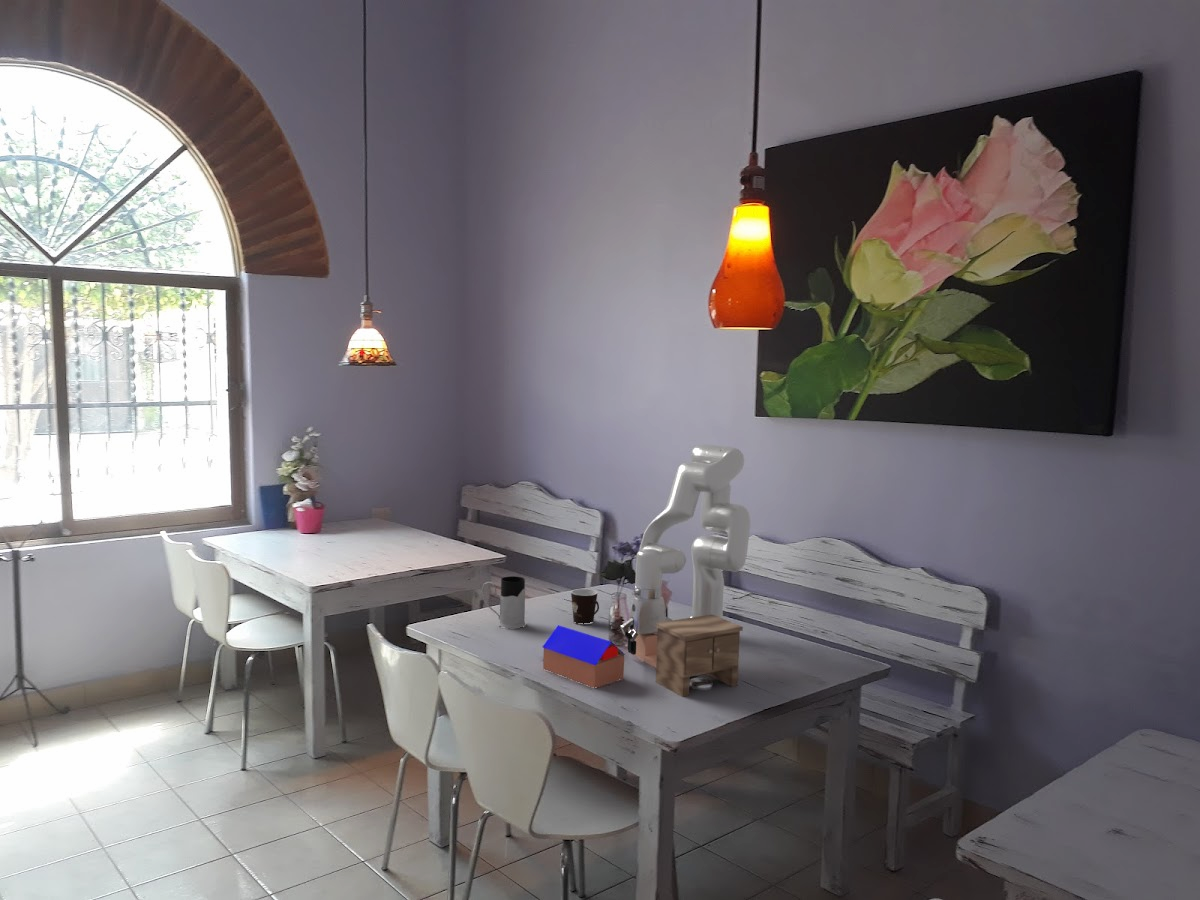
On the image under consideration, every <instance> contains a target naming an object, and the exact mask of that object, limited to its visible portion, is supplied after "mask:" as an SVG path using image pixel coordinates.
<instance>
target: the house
mask: <svg viewBox="0 0 1200 900" xmlns="http://www.w3.org/2000/svg"><path fill="white" fill-rule="evenodd" d="M542 648H543V660H542V661H543V664H542V667H543V669H545V670H548V671H551V672H553V673H556V674H559V675H562V676H564V677H567V678H569V679H572V680H574V681H577V682H580V683H582V684H585V685H588V686H590V687H589V688H591V687H594V688H595V687H599V686H601V687H603V686H602V685H604V686H606V685H605V684H607V685H609V684H608V683H610V684H612V683H611V682H613V683H615V682H614V681H616V682H618V681H620V680H619V679H621V680H623V679H624V675H625V674H624V673H625V672H624V671H625V670H624V669H625V656H626V653H624V652H623V651H622V650H621V649H620V648H619V647H618V646H617V645H616V644H615V643H614V642H612V641H610V640H609V639H604V638H601V637H598V636H594V635H591V634H588V633H584V632H581V631H578V630H575V629H572V628H568V627H565V626H563V625H557V626H556V628H555V629H554V630H553V631H552V633H551V634H550V635H549V636H548V638H547V640H546V641H545V643H544V644H542ZM569 679H568V680H569ZM617 680H618V681H617ZM574 681H573V682H574ZM577 682H576V683H577ZM580 683H579V684H580ZM582 684H581V685H582ZM585 685H584V686H585ZM588 686H587V687H588ZM599 688H600V687H599Z"/></svg>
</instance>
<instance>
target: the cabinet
mask: <svg viewBox="0 0 1200 900" xmlns="http://www.w3.org/2000/svg"><path fill="white" fill-rule="evenodd" d="M655 627H657V628H658V632H657V633H656V635H657V662H656V668H655V682H656V684H659V685H660V686H663V687H664V688H666V689H668V690H670V691H672V692H673V693H675V694H677V695H679V696H681V697H682V698H683V697H688V696H690V680H691V677H690V676H693V677H694V676H699V675H700V676H701V675H708V676H709V677H711V678H713V679H715V680H717V681H719V682H721V683H723V682H724V683H723V684H725V683H726V684H725V685H727V684H728V685H727V686H729V685H730V686H729V687H731V686H732V687H735V686H734V685H737V686H738V682H739V679H738V678H739V677H738V675H739V657H740V656H739V655H740V654H739V653H740V639H741V638H740V637H741V634H740V632H741V631H744V630H743V628H744V627H743V625H742V626H741V625H739V624H736V623H734V622H732V621H729V620H727V619H724V618H723V617H722V618H719V617H717V616H714V615H705V616H699V617H692V618H690V617H686V618H680V619H674V620H673V619H672V621H665V622H659V623H655Z"/></svg>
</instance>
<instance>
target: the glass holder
mask: <svg viewBox="0 0 1200 900" xmlns="http://www.w3.org/2000/svg"><path fill="white" fill-rule="evenodd" d="M525 581H526V579H525V578H524V577H523V576H513V575H512V576H505V577H502V578H501V580H500V594H498V593H497V587H496V585H495V584H494V582H491V581H487V582H485V583H483V585H482V588H481V593H482V599H483V601H484V603H485V606H487V607H488V609H490V610H491V611H492V612H493V613H494V614H496V616H498V620H499V622H498V624H499V626H501V627H505V628H520V627H523V626H525V624H526V621H525V613H526V611H525V610H526V604H525V603H526V586H525V585H526V582H525ZM486 584H491V585H492V586H493V588H494V594H495V595H496V596H497V597H499V599H500V600H499V601H500V602H499V613H498V612H497V611H496V610H495V609H494V608H492V607H491V606H490V605H489V604H488V601H487V599H486V597H485V595H484V586H485V585H486ZM499 626H498V627H499ZM501 627H500V628H501ZM525 627H526V626H525ZM523 628H524V627H523ZM520 629H521V628H520Z"/></svg>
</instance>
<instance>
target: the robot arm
mask: <svg viewBox="0 0 1200 900" xmlns="http://www.w3.org/2000/svg"><path fill="white" fill-rule="evenodd" d="M690 459H691V461H686V462H684V463H681V464H680V465H679V466H678V467H677V469H676V473H675V476H674V478H673V482H672V485H671V489H670V492H669V496H668V499H667V502H666V505H665V508H664V509H663V511H661V512H660V513H659V514H658V515H656V517H654V518H653V520H651V522H650V523H649V524H648V525H647V527H646V528H645V530H644V532H643V535H642V538H641V541H640V545H639V549H638V552H636V556H635V583H634V584H635V585H634V590H632V591H631V594H632V596H634V597H633V598H632V601H631V606H630V613H629V619H628V620H627V621H625V622H624V623H623V624H622V625H620V630H621V632H622V634H623V636H624V637H625V638H626V639H627V651H628V652H627V653H629V654H631V655H633V656H634V655H635V654H636V637H637V636H638V634H639V635H644V634H651V633H654V634H658V628H657V627H655V623H659V622H665V621H672V620H673V619H672V618H669V617H668V616H666V605H665V600H664V599H665V598H664V597H663V595H662V579H663V575H665V574H668V575H669V574H670V575H671V574H677V573H679V572H680V571H682V570H683V569H684V567H685V566H686V562H687V557H686V555H685V552H684V551H682V550H681V549H679V548H677V547H674V546H673V547H672V546H668V545H663V544H659V543H660V540H661V538H662V536H663V535H664V533H665V532H666V531H667V530H668V529H669V530H670V529H671V527H674V526H675V525H678V524H682V523H685V522H688V521H690V520H691V519H693V517H694V514H695V511H696V507H697V504H698V502H699V501H698V500H699V497H700V493H702V495H701V497H702V498H701V506H700V507H701V508H700V515H699V523H700V527H702V529H703V530H706V531H707V532H713V533H716V534H717V533H718V534H723V535H727V538H725V537H720V536H715V535H706V534H705V535H700V536H698V537H696V538H695V539H694V540H693V542H692V544H691V548H690V551H691V552H690V554H691V560H692V570H693V571H692V572H693V573H692V574H693V575H692V576H693V578H692V579H693V581H692V582H693V583H692V584H693V585H692V602H691V603H692V605H691V610H692V611H691V616H690V617H689V618H692V617H699V616H705V615H714V616H717V617H719V618H722V619H723V616H724V614H723V613H724V610H723V609H724V591H725V589H724V588H725V579H724V576H723V573H722V571H721V570H723V571H728V572H739V571H740V570H741V569H743V567H744V566H745V564H746V560H747V555H748V549H749V540H750V533H751V531H750V530H751V515H750V512H749V510H748V509H747V507H745V506H744V505H741V504H736V503H731V491H732V489H731V482H732V480H734V479H735V478H736V477H738V475H739V474H740V473H741V472H742V470H743V468H744V464H745V457H744V454H743V452H742V451H741V450H740V449H739V448H736V447H733V446H730V447H729V446H724V445H721V446H720V445H714V444H699V445H696V446H694V447H693V448H692V450H691V455H690ZM628 629H629V631H628Z"/></svg>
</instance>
